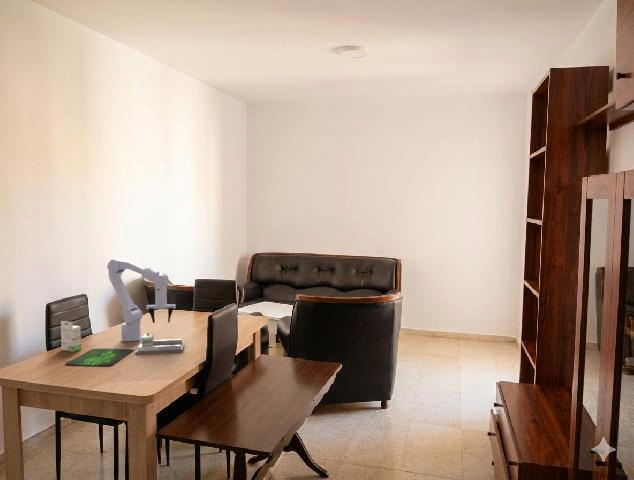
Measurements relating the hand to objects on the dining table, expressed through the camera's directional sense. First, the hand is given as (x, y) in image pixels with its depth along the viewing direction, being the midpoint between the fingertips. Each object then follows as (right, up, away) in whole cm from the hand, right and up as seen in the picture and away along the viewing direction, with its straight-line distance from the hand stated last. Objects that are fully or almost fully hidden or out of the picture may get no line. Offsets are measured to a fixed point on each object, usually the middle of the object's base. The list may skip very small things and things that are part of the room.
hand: (161, 322), depth 271 cm
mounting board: (+4, -11, -15) cm, 19 cm away
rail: (+4, -10, -15) cm, 18 cm away
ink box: (-39, -11, -16) cm, 44 cm away
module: (-2, -10, -16) cm, 19 cm away
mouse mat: (-20, -13, -28) cm, 36 cm away
